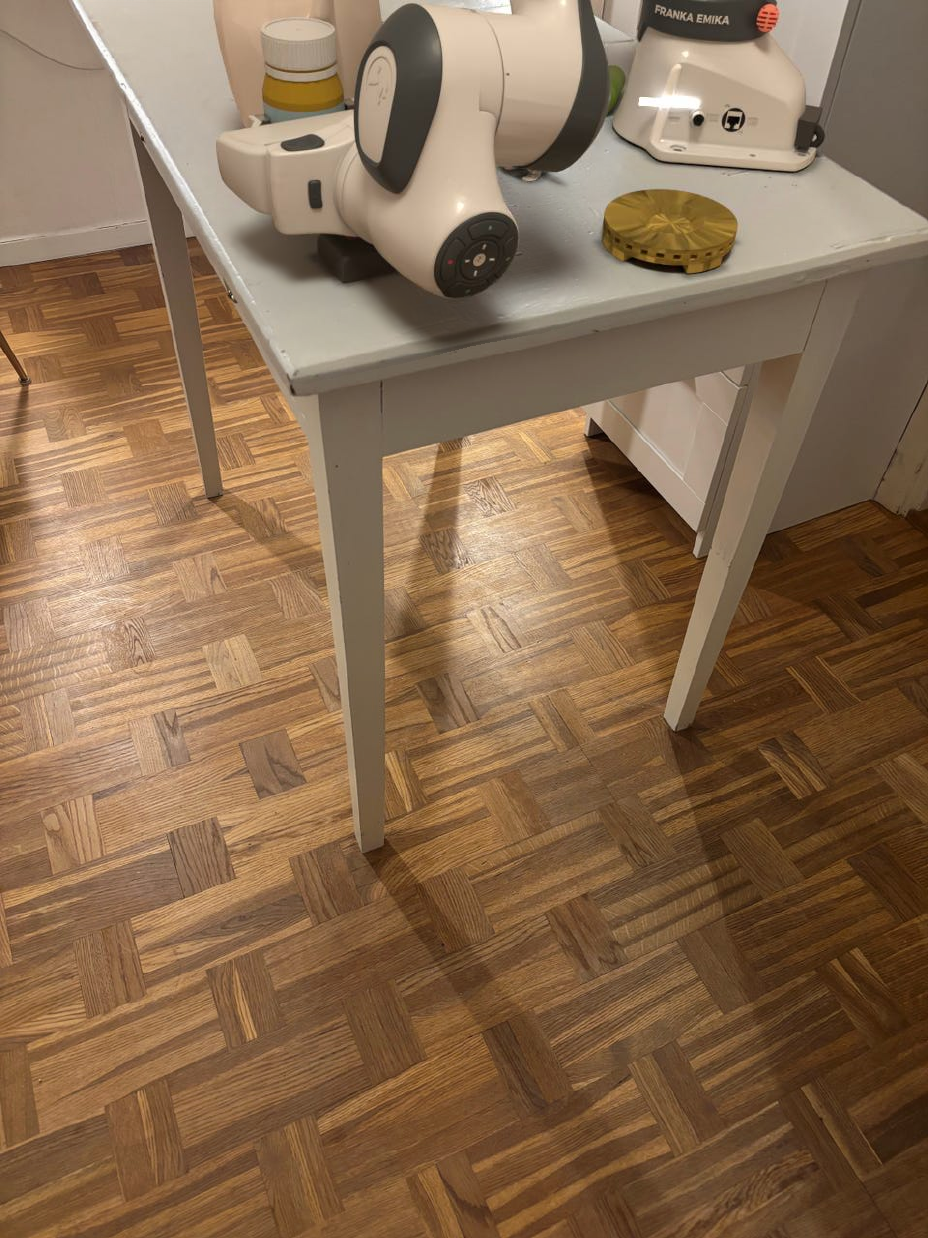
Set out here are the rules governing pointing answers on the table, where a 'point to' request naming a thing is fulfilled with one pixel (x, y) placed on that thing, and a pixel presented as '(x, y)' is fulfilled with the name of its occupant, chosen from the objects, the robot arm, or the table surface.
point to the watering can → (253, 3)
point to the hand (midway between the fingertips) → (301, 115)
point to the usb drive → (351, 257)
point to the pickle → (616, 84)
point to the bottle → (300, 69)
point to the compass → (669, 229)
